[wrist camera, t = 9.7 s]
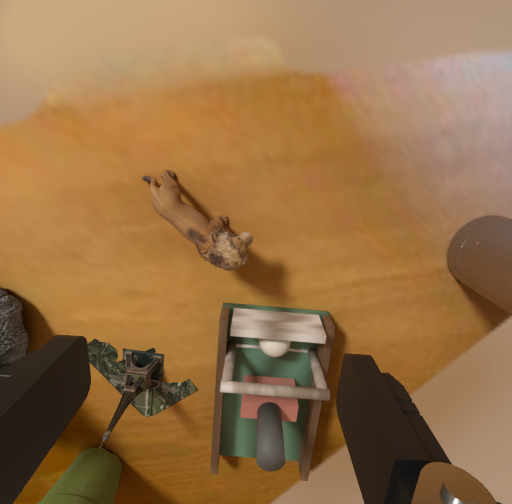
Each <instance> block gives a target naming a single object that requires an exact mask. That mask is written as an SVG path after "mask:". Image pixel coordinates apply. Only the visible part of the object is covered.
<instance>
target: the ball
mask: <svg viewBox="0 0 512 504" xmlns="http://www.w3.org/2000/svg"><path fill="white" fill-rule="evenodd" d="M290 343H291V341H285V340H273V339H261V338H259V345H260V348H261V349H262V351H263V352H264V353H265V354H266V355H268V356H271V357H280V356H282V355H284V354H285V353H286V352H287V351H288V349H289V347H290Z"/></svg>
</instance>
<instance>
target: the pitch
mask: <svg viewBox="0 0 512 504" xmlns="http://www.w3.org/2000/svg"><path fill="white" fill-rule="evenodd" d="M334 334H335V326H334V323H333V321H332V319H331V316H330V314H329V312H328V311H316V310H304V309H292V308H281V307H269V306H257V305H245V304H233V303H223V307H222V311H221V315H220V321H219V338H218V355H217V371H216V388H215V405H214V422H213V438H212V455H211V472H210V473H211V474H217V473H218V465H219V458H220V455H226V456H239V457H252V458H257V419H253V418H240V414H241V400H242V394H250V395H262V396H275V397H287V398H297V400H298V413H297V419H296V422H291V421H282V426H283V438H284V450H285V460H291V461H298V464H299V472H300V480H303V481H308V475H309V470H310V464H311V459H312V454H313V448H314V443H315V437H316V432H317V426H318V421H319V415H320V410H321V405H322V400H325V401H329V400H330V390H329V389H327V385H326V377H327V372H328V366H329V361H330V356H331V350H332V345H333V339H334ZM259 338H261V339H273V340H285V341H291V343H290V347H289V349H288V351H287V352H286V353H285V354H284V355H282V356H280V357H271V356H268V355H266V354H265V353H264V352H263V351H262V349H261V348H260V345H259ZM244 375H254V376H266V377H278V378H291V379H294V380H295V386H286V385H273V384H261V383H248V382H243V376H244Z"/></svg>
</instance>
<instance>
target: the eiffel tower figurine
mask: <svg viewBox="0 0 512 504" xmlns="http://www.w3.org/2000/svg"><path fill="white" fill-rule="evenodd" d="M87 346H88V355H89V362H90V363H91V364H92V365H93V366H94V367H95V368H96V369H97V370H98V371H99V372H100V373H101V374H102V375H103V376H104V377H105V378H106V379H107V380H108V381H109V382H110V383H111V384H112V385H113V386H114V387H115V388H116V389H117V390H118V391H119V392H120V393H121V394H122V398H121V400H120V403H119V405H118V407H117V409H116V412H115V414H114V416H113V418H112V420H111V422H110V425H109V427H108V429H107V431H106V432H105V433H104V434H103V442H105V441H107V440H108V439H109V435H110V433H111V432H112V430H113V428H114V427H115V425H116V424H117V422H118V420H119V419H120V417H121V416H122V414H123V412H124V411H125V409H126V408H127V407H128V405H129V404H130V403H131V404H132V405H133V406H134V407H135V408H136V409H137V410H138V411H139V412H140V413H141V414H142V415H144V416H146V417H149V416H153V415H155V414H158V413H159V412H161V411H163V410H164V409H166V408H168V407H170V406H171V405H173V404H175V403H176V402H178V401H180V400H181V399H183V398H185V397H186V396H188V395H190V394H191V393H193V392H195V391H197V389H196V388H195V386H194V385H193V384H192V382H191V381H190V380H189V379H188V380H186V381H185V382H182V383H169V382H162V377H163V365H164V354H158V353H155V352H156V351H155V349H154V348H152V349H149V350H147V351H145V352H144V351H137V350H130V349H123V361H119V362H115V361H116V359H117V357H118V354H117V350H116V349H115V348H114V347H113V346H111V345H110V344H109V343H105V342H99V341H98V340H96V339H94V340H93V341H91V342H90V343H89V344H87ZM103 442H102V444H103ZM102 444H101V446H102ZM101 446H100V448H101ZM100 448H99V449H100Z"/></svg>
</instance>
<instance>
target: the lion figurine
mask: <svg viewBox="0 0 512 504" xmlns="http://www.w3.org/2000/svg"><path fill="white" fill-rule="evenodd" d="M161 176H162V178H163V179H164V181H165V182H164V183H163V184H162V185H161V186H160V187H159V188H158V187H157V186H156V179H155V178H151V177H150V176H143V178H142V179H143V180H144V181H147V182H148V183H150V190H151V193H152V197H151V203H152V206H153V207H154V209H155V210H156V212H157V213H158V214H159V215H160V216H161V217H163V218H164V219H166V220H167V221H169V222H170V223H171V224H172V225H173V226H174V227H175V228H176V229H177V230H178V231H179V232H180V233H181V234H182V235H183V236H185V237H186V238H187V239H188V240H190V241H191V242H192V243H194V244H195V246H196V247H197V249H198V252H199V254H200V255H201V257H202V258H204V259H205V261H209V262H210V263H211V264H213V265H214V266H215V267H220V268H223V269H225V270H229V271H232V269H238V268H240V267H241V265H245V262H246V261H247V259H248V256H247V253H246V252H247V248H248V246H249V245H251V244H252V242H253V236H252V234H251V233H248V232H244V233H242V234H241V235H240V236H236V235H235V234H233V233H232V232H230V231H229V230H228V229H226V228H225V227H224V225H225V224H227V223H228V219H227V216H224V215H222V216H218V217H216V218H215V220H210V221H209V220H208V219H207V218H206V217H205V216H204V215H202V214H201V213H200V212H198V211H197V210H196V209H194V208H193V207H191V206H189V205H187V204H185V203H184V202H183V201H182V200H181V191H180V189H179V186H178V184H177V183H176V182H175V181H174V179H175V174H174V172H172V171H170V170H166V171H164V172H163V173H162V174H161Z"/></svg>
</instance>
